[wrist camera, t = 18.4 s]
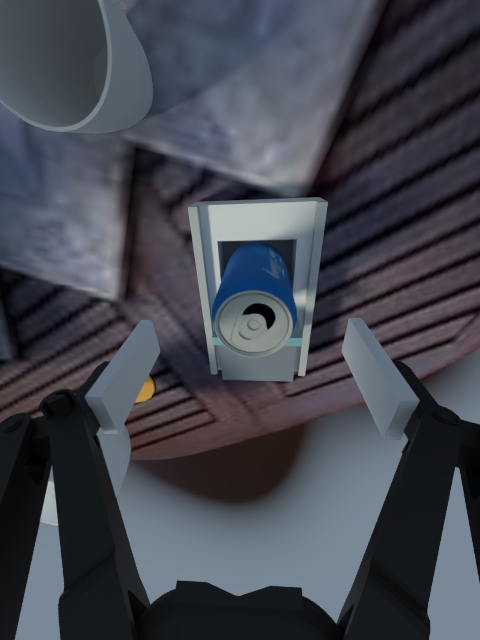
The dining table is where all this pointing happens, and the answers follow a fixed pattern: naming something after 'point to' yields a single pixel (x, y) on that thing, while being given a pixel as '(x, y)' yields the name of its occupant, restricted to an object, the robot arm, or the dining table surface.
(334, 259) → the dining table surface
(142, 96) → the cup
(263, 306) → the beverage can
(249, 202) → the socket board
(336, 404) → the dining table surface
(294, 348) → the shutter
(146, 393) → the cup
